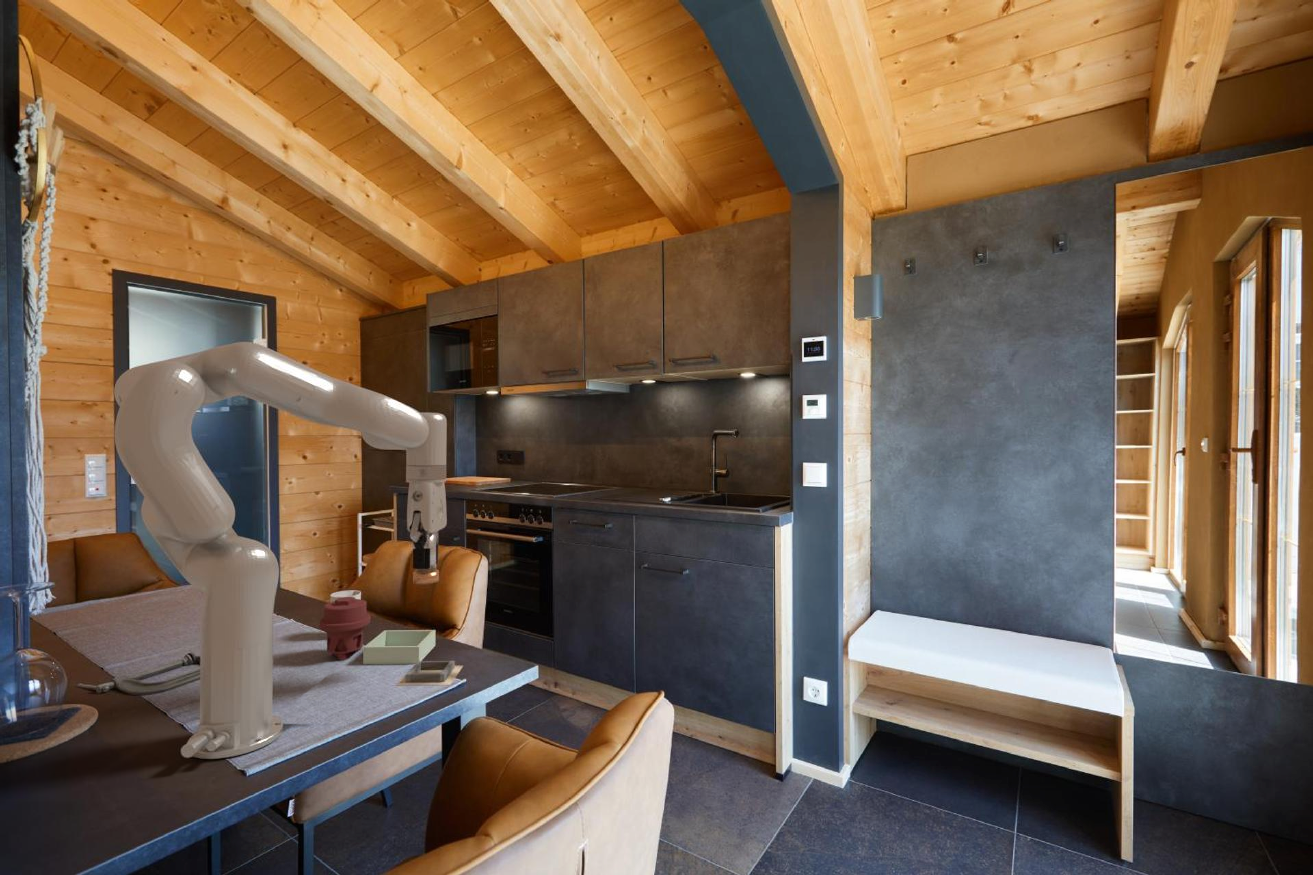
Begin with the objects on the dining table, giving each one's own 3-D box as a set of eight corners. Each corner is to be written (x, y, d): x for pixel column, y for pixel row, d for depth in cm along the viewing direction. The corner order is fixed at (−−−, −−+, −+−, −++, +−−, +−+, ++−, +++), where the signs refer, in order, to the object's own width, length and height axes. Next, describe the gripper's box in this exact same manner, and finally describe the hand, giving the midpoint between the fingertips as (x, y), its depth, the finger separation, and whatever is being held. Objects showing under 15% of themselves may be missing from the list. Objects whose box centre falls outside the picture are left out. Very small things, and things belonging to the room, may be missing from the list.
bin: (418, 669, 128) (419, 646, 128) (363, 669, 128) (363, 647, 128) (435, 650, 140) (435, 630, 140) (384, 650, 139) (384, 630, 139)
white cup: (366, 633, 151) (367, 592, 151) (340, 641, 145) (341, 598, 145) (350, 629, 154) (350, 588, 154) (324, 636, 149) (324, 594, 149)
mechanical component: (346, 666, 130) (307, 660, 133) (380, 650, 139) (344, 645, 142) (346, 606, 130) (308, 602, 133) (380, 595, 139) (344, 591, 142)
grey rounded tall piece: (416, 585, 121) (415, 520, 121) (411, 580, 125) (410, 518, 125) (441, 582, 124) (440, 518, 124) (435, 577, 128) (435, 516, 128)
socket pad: (449, 691, 118) (449, 676, 118) (395, 691, 117) (395, 677, 117) (463, 671, 128) (463, 658, 128) (413, 671, 127) (413, 658, 127)
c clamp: (123, 707, 111) (123, 692, 111) (75, 689, 118) (75, 675, 118) (241, 669, 129) (241, 656, 129) (194, 656, 136) (194, 643, 136)
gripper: (431, 477, 116) (430, 575, 116) (457, 472, 133) (457, 558, 133) (390, 477, 116) (389, 575, 116) (422, 471, 133) (421, 558, 133)
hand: (425, 565), depth 125 cm, fingers closed on grey rounded tall piece, 3 cm apart
